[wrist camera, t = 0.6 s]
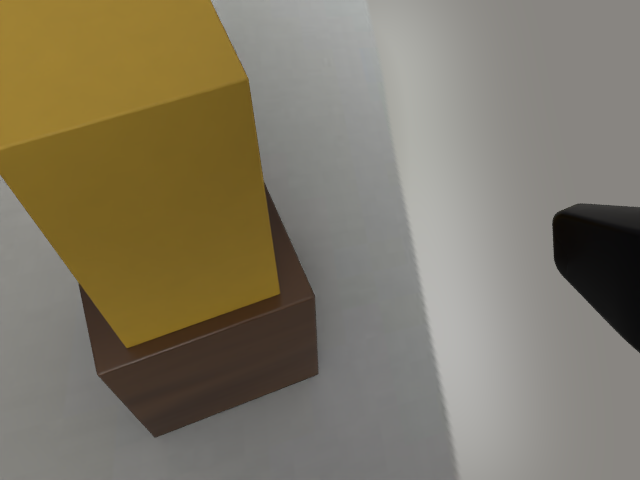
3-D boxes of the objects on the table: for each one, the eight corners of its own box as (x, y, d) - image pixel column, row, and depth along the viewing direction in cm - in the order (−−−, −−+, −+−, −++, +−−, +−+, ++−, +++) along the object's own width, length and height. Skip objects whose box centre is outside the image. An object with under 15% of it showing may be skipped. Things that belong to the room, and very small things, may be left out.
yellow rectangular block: (226, 161, 22) (172, -79, 15) (280, 294, 19) (249, 78, 12) (91, 202, 21) (-39, -31, 14) (126, 349, 18) (-18, 152, 11)
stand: (319, 374, 25) (315, 297, 19) (154, 438, 24) (96, 376, 18) (264, 243, 29) (247, 144, 23) (119, 293, 27) (61, 201, 21)
